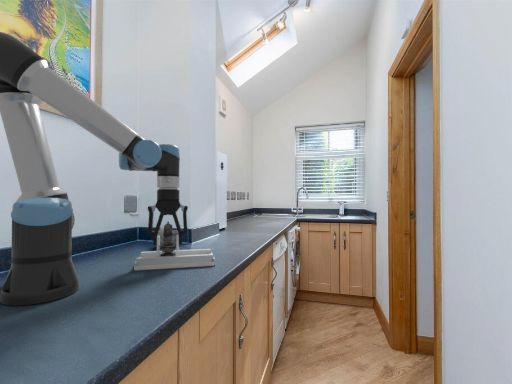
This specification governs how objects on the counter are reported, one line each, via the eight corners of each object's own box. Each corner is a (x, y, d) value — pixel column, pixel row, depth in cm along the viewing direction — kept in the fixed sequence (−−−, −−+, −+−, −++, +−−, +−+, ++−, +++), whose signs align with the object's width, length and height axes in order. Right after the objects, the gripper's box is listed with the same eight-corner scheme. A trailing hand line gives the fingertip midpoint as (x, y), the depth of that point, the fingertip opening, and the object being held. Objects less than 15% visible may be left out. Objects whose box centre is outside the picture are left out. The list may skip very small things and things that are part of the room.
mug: (180, 244, 134) (181, 224, 134) (175, 249, 122) (175, 227, 122) (160, 244, 134) (161, 224, 134) (152, 249, 121) (153, 227, 121)
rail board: (134, 270, 88) (134, 259, 88) (140, 261, 99) (140, 251, 100) (215, 265, 94) (215, 255, 94) (211, 257, 106) (211, 248, 106)
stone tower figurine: (166, 252, 100) (166, 220, 100) (180, 254, 98) (180, 220, 98) (155, 256, 94) (155, 221, 95) (169, 257, 92) (169, 222, 93)
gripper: (137, 188, 90) (137, 258, 90) (195, 188, 95) (195, 255, 95) (141, 188, 98) (141, 253, 98) (195, 189, 102) (194, 250, 102)
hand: (168, 254), depth 96 cm, fingers closed on stone tower figurine, 6 cm apart
